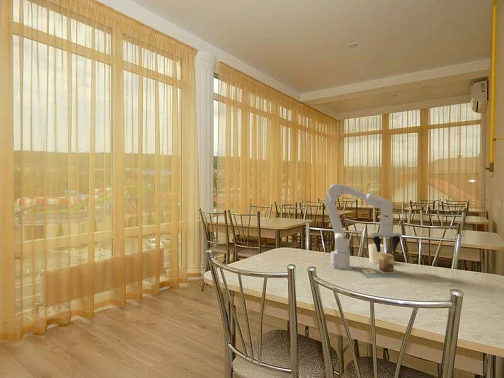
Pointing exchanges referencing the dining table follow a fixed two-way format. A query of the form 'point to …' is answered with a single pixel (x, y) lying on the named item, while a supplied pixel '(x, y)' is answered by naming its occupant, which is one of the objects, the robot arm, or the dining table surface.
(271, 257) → the dining table surface
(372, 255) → the white cup
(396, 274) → the build board
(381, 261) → the oak block
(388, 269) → the walnut block
